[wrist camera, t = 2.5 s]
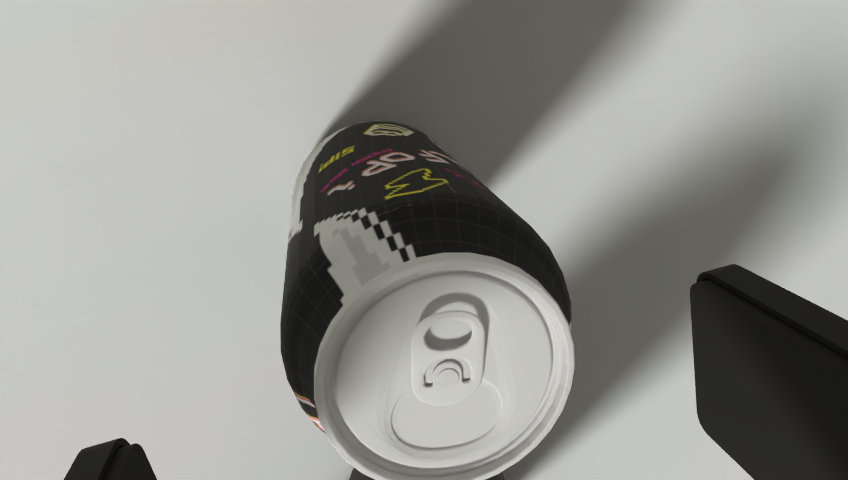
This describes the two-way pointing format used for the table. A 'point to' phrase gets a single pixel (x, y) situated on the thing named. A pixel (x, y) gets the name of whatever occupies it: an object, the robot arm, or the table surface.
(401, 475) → the beverage can
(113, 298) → the table surface
